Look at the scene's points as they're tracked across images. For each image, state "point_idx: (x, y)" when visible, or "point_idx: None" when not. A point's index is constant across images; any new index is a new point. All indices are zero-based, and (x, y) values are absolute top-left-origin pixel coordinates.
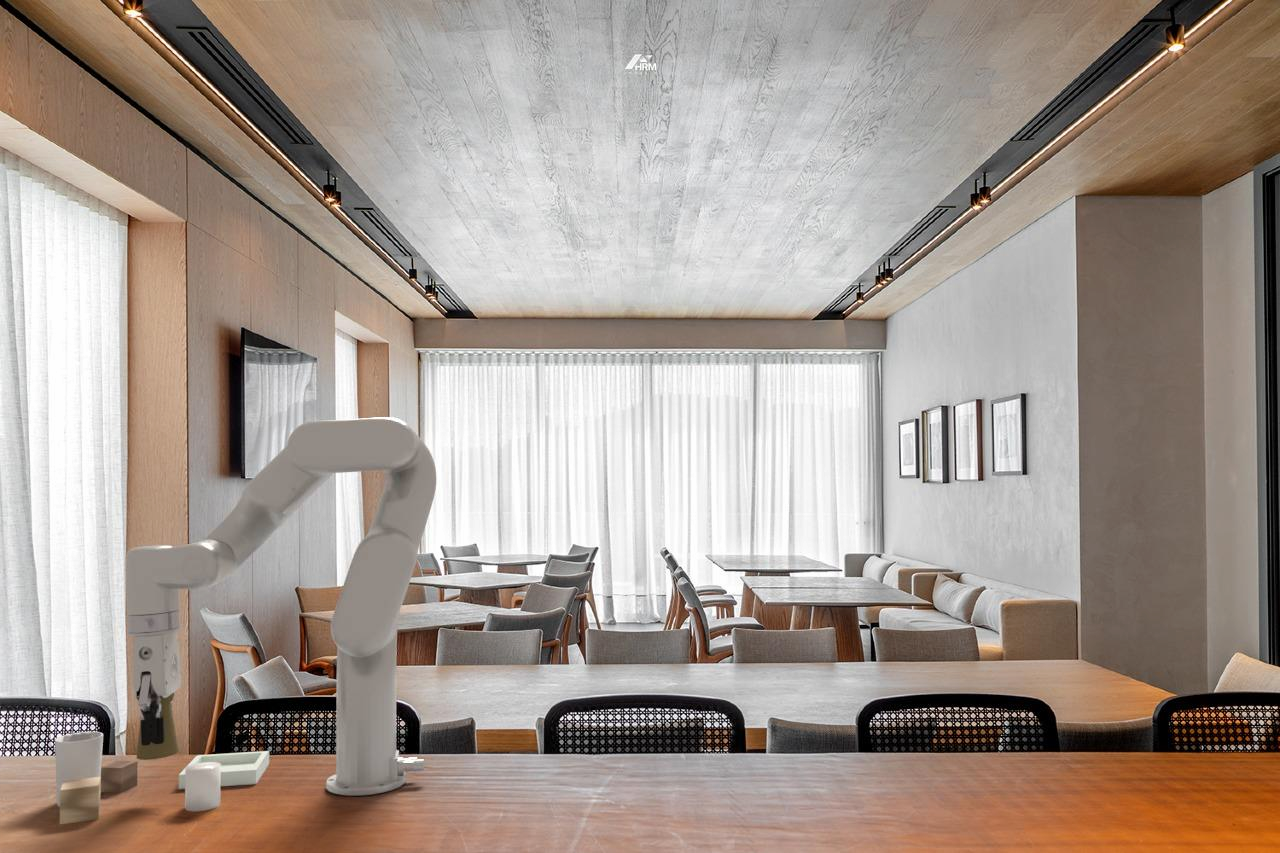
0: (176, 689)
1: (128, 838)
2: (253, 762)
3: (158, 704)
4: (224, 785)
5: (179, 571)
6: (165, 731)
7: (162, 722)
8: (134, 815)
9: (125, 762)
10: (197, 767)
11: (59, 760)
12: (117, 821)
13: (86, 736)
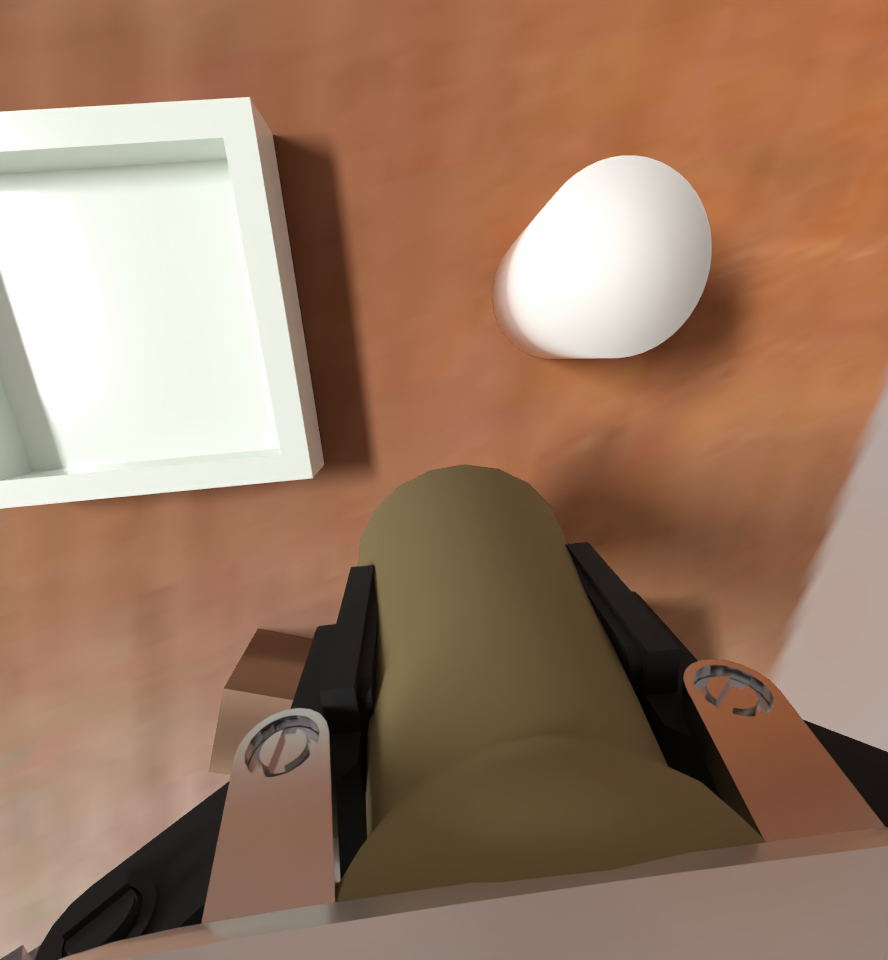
0: (462, 921)
1: (834, 434)
2: None
3: (867, 807)
4: (294, 284)
5: None
6: (571, 571)
7: (656, 621)
8: (607, 504)
9: (241, 725)
10: (634, 290)
11: None
12: (655, 533)
13: None
